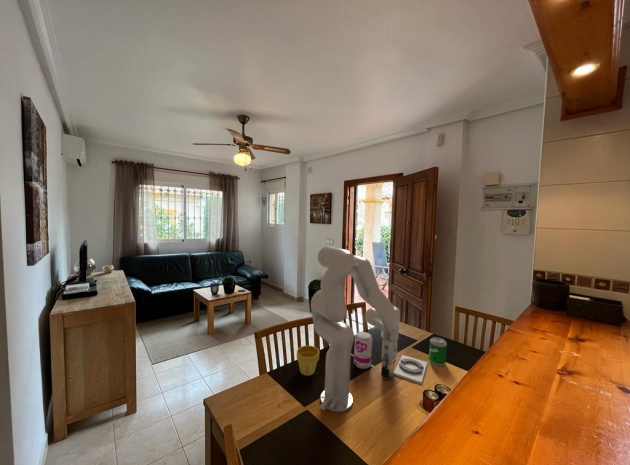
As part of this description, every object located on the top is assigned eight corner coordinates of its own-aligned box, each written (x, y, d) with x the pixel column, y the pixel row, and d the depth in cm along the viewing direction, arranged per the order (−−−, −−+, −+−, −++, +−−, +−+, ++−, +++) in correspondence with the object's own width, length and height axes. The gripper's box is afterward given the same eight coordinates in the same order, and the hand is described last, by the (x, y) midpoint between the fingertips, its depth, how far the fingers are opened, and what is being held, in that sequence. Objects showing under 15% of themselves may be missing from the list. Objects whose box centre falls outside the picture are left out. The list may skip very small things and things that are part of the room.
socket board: (421, 384, 114) (421, 379, 114) (393, 374, 120) (393, 370, 120) (427, 364, 130) (427, 359, 130) (402, 356, 136) (402, 352, 136)
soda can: (441, 359, 135) (443, 336, 134) (447, 367, 127) (449, 344, 126) (426, 358, 135) (428, 335, 134) (431, 366, 128) (433, 342, 127)
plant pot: (314, 380, 115) (315, 359, 114) (292, 375, 118) (293, 354, 117) (321, 367, 124) (322, 347, 124) (301, 362, 128) (301, 343, 127)
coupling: (392, 382, 115) (393, 362, 114) (379, 377, 118) (380, 358, 117) (395, 376, 120) (396, 357, 119) (382, 371, 123) (383, 353, 122)
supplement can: (366, 371, 122) (367, 340, 121) (350, 365, 127) (352, 335, 126) (373, 364, 129) (375, 334, 127) (358, 357, 134) (360, 329, 132)
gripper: (393, 344, 108) (391, 384, 109) (402, 329, 123) (400, 363, 124) (375, 339, 112) (373, 378, 113) (386, 325, 126) (384, 359, 128)
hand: (387, 370), depth 119 cm, fingers open, 9 cm apart
